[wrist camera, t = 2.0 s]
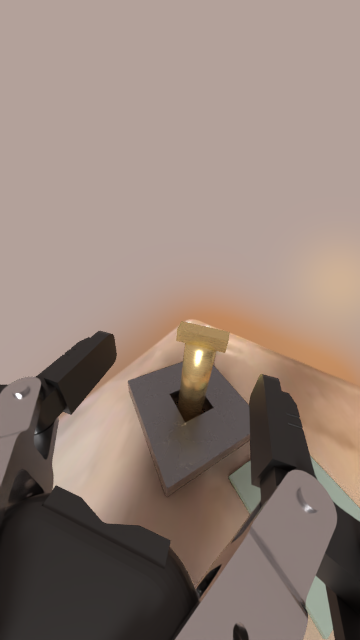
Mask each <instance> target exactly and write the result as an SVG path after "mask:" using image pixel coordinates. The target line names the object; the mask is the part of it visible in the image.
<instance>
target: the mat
mask: <svg viewBox="0 0 360 640" xmlns="http://www.w3.org/2000/svg"><path fill="white" fill-rule="evenodd" d="M310 458H311V461H312V465H313V469H314V472H315V475H316V477H317V480H318V481H319V482H320V483H321V484H322V485H323V487H324V488H325V489H326V490H327V492H328V493H329V495H330V497H331V499H332V500H333V502H335V503H336V504H337V505H338V506H339V507H340V508H342V509H343V510H344V511H346V512H347V513H348V514H350V515H351V516H353V517H354V518H355V519H357V520H358V521H360V508H359V507H358V506H357V505H356V504H355V503H354V502H353V501H352V500H351V498H350V497H349V496H348V495H347V494H346V493H345V492H344V491H343V490H342V489H341V488H340V487H339V486H338V485H337V484H336V483H335V482H334V480H333V479H332V478H331V477H330V476H329V475H328V474H327V473H326V472H325V471H324V470H323V469H322V468H321V467H320V466H319V465H318V464H317V463H316V461H315V460H314V459H313V458H312V457H311V456H310ZM228 478H229V479H230V481H231V483H232V484H233V486H234V488H235V490H236V491H237V493H238V495H239V496H240V498H241V500H242V501H243V503H244V505H245V506H246V508H247V510H248V512H249V513H250V514H251V512H252V511H253V510H254V508H255V507H256V506H257V504H258V503H259V501H260V500H261V493H260V488H258V487H256V486H253V485H251V460H250V461H249V462H247V463H246V464H245V465H243V466H242V467H241V468H239V469H238V470H237V471H235V472H234V473H233V474H231V475H230V476H229V477H228ZM306 609H307V611H308V613H309V615H310V617H311V618H312V620H313V622H314V623H315V625H316V627H317V628H318V630H319V632H320V633H321V635H322V637H323V639H328V637H329V635H330V633H331V632H332V630H333V625H332V620H331V614H330V608H329V603H328V597H327V591H326V586H325V584H324V583H323V582H322V581H321V580H320V579H319V578H318V577H317V576H315V578H314V580H313V583H312V585H311V588H310V590H309V593H308V595H307V599H306Z"/></svg>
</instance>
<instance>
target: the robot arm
mask: <svg viewBox="0 0 360 640" xmlns="http://www.w3.org/2000/svg"><path fill="white" fill-rule="evenodd" d="M116 356H117V353H116V346H115V339H114V335H113V334H110V333H106V332H103V331H98V332H97V333H95V334H94V335H93V336H92V337H91V338H89V337H88V338H86V339H84V340H82V341H80V342H78V343H77V344H76V345H75V346H73V347H72V348H71V350H69V351H67V352H66V353H65V355H62V356H61V357H60V358H59V359H57V360H56V361H55V362H54V363H52V364H51V365H50V366H49V367H47V368H46V369H45V370H44V371H42V373H40V374H39V375H38V376H36V377H25V378H21V379H19V380H16V381H14V382H12V383H11V384H9V385H0V640H303V638H304V635H305V631H306V627H307V621H308V612H307V609H306V599H307V595H308V593H309V590H310V588H311V585H312V583H313V580H314V578H315V576H317V577H318V578H319V579H320V580H321V581H322V582H323V583H324V584H325V586H326V591H327V597H328V603H329V608H330V614H331V620H332V625H333V631H334V636H335V640H360V521H358V520H357V519H355V518H354V517H353V516H351V515H350V514H348V513H347V512H346V511H344V510H343V509H342V508H340V507H339V506H338V505H337V504H336V503H335V502H333V500H332V499H331V497H330V495H329V493H328V492H327V490H326V489H325V488H324V487H323V485H322V484H321V483H320V482H319V481H318V480H317V477H316V475H315V472H314V469H313V465H312V461H311V458H310V454H309V450H308V446H307V443H306V439H305V435H304V431H303V429H302V424H301V420H300V419H299V417H300V416H299V412H298V409H297V405H296V403H295V402H294V400H293V399H292V397H291V396H290V394H289V393H286V392H282V391H281V386H280V381H279V379H278V378H274V377H270V376H267V375H263V374H261V375H260V376H259V378H258V380H257V382H256V385H255V387H254V389H253V391H252V393H251V397H250V402H249V415H250V454H251V485H253V486H256V487H258V488H260V493H261V500H260V501H259V503H258V504H257V506H256V507H255V508H254V510H253V511H252V512H251V514H250V515H249V516H248V518H247V519H246V521H245V522H244V523H243V525H242V526H241V527H240V529H239V530H238V532H237V533H236V534H235V536H234V537H233V538H232V540H231V541H230V542H229V544H228V545H227V546H226V547H225V549H224V550H223V551H222V552H221V553H220V555H219V556H218V557H217V558H216V560H215V561H214V562H213V564H212V565H211V566H210V568H209V569H208V571H207V572H206V573H205V575H204V576H203V577H202V579H201V580H200V581H199V583H198V584H197V586H196V587H195V588H194V585H193V583H192V581H191V579H190V576H189V574H188V572H187V570H186V569H185V567H184V565H183V563H182V562H181V560H180V559H179V558H178V556H177V555H176V554H175V553H174V552H173V551H172V549H171V548H170V547H169V546H170V540H168V539H166V538H164V537H162V536H160V535H158V534H156V533H154V532H152V531H150V530H147V529H145V528H143V527H141V526H138V525H121V524H106V523H104V522H102V521H101V520H100V519H99V517H98V516H97V515H96V514H95V513H94V512H93V510H92V509H91V508H90V507H89V506H88V505H87V504H86V502H85V501H84V500H83V499H82V498H81V497H79V496H77V495H75V494H73V493H71V492H69V491H67V490H65V489H62V488H60V487H58V486H55V488H54V489H53V469H52V458H53V452H54V446H55V440H56V434H57V428H58V422H59V418H58V416H59V415H60V414H61V413H62V412H65V413H68V414H72V413H73V412H74V411H75V410H76V408H77V407H78V406H79V405H80V404H81V402H82V401H83V400H84V399H85V398H86V396H87V395H88V394H89V393H90V391H91V390H92V389H93V388H94V387H95V385H96V384H97V383H98V382H99V381H100V379H101V378H102V377H103V376H104V375H105V374H106V372H107V371H108V370H109V369H110V368H111V366H112V365H113V364H114V362H115V360H116ZM52 489H53V490H52Z"/></svg>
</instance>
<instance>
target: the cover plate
mask: <svg viewBox="0 0 360 640" xmlns="http://www.w3.org/2000/svg"><path fill="white" fill-rule="evenodd" d="M182 367H183V362H181V363H178V364H175V365H172V366H169V367H166V368H163V369H160V370H158V371H155V372H152V373H149V374H146V375H143V376H140V377H138V378H135V379H132V380H129V381H128V386H129V393H130V396H131V398H132V401H133V404H134V407H135V410H136V413H137V416H138V418H139V421H140V424H141V427H142V430H143V433H144V436H145V438H146V441H147V444H148V447H149V450H150V453H151V456H152V458H153V461H154V464H155V467H156V470H157V473H158V475H159V478H160V481H161V484H162V487H163V490H164V493H165V495H166V497H167V496H169V495H170V494H172V493H173V492H175V491H176V490H178V489H179V488H181V487H182V486H183V485H185V484H186V483H188V482H189V481H191V480H192V479H194V478H195V477H197V476H198V475H200V474H201V473H202V472H204V471H205V470H207V469H208V468H210V467H211V466H213V465H214V464H216V463H217V462H219V461H220V460H221V459H223V458H224V457H226V456H227V455H229V454H230V453H232V452H233V451H235V450H236V449H238V448H239V447H241V446H242V445H243V444H245V443H246V442H248V441H249V440H250V415H249V405H248V404H247V403H246V402H245V400H244V399H243V398H242V397H241V396H240V395H239V394H238V392H237V391H236V390H235V389H234V388H233V387H232V386H231V385H230V383H229V382H228V381H227V380H226V379H225V378H224V377H223V375H222V374H221V373H220V372H219V371H218V370H217V369H216V368H215V366H214V365H213V367H212V371H211V375H210V379H209V383H208V388H207V392H206V396H205V400H204V404H203V407H204V409H205V410H206V412H205V413H203V414H201V415H199V416H197V417H195V418H193V419H191V420H189V421H187V422H185V421H184V420H183V418H182V416H181V414H180V412H179V410H178V409H177V407H176V405H175V403H174V402H176V401H178V400H179V393H180V384H181V376H182Z"/></svg>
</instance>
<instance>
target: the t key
mask: <svg viewBox="0 0 360 640" xmlns="http://www.w3.org/2000/svg"><path fill="white" fill-rule="evenodd" d="M228 340H229V332H227V331H223V330H218V329H214V328H209V327H205V326H200V325H196V324H192V323H187V322H183V321H182V322H181V323H180V325H179V327H178V329H177V340H176V341H179V342H183V343H185V350H184V358H183V367H182V376H181V384H180V393H179V402H178V410H179V412H180V414H181V416H182V418H183V420H184V421H185V422H187V421H189V420H191V419H193V418H195V417H197V416H199V415H201V412H202V408H203V404H204V400H205V396H206V392H207V388H208V383H209V379H210V375H211V371H212V367H213V363H214V359H215V354H216V351H219V352H223V353H225V351H226V348H227V344H228Z"/></svg>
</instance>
